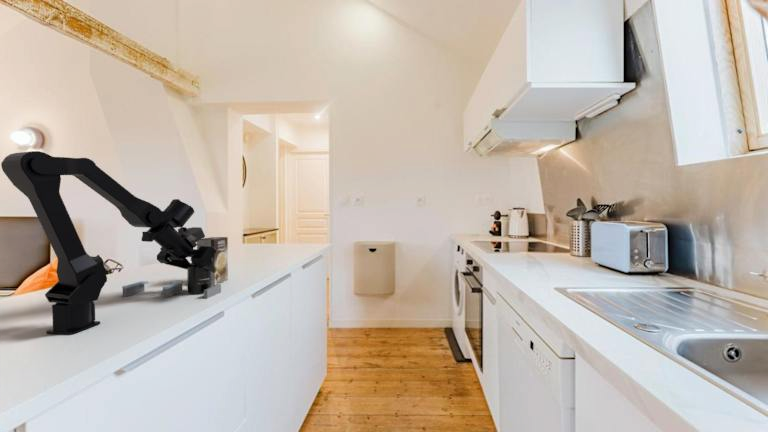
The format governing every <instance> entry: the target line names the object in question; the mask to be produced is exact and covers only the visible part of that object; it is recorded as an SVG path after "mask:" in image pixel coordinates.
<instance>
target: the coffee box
mask: <svg viewBox="0 0 768 432" xmlns="http://www.w3.org/2000/svg"><path fill="white" fill-rule="evenodd" d="M228 240H229V239H228V237H227V236H215V237H214V236H211V237H204V238H202V239H200V240H199V241H197V242H196V244H197V245H196V249H199V248H200V246H213V247H214V248H215V249H216V250H217V251H216V253H215V254H214V256H213V257H212V261H213V264H214V267H215V271H214V272H212V287H213V286H215V285H217V284H221V283H224V282H226V281H228V280H229V266H228V265H229V255H228V254H229V252H228V251H229V248H228V247H229V246H228V245H229V242H228Z"/></svg>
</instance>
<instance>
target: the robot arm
mask: <svg viewBox="0 0 768 432" xmlns="http://www.w3.org/2000/svg"><path fill="white" fill-rule="evenodd" d="M0 166H1V169H2V172H3V173H4V175H6V177H7V179H8V180H9V181H10V183H11V184H12V185H13V186H14V187H15V188H16V189H17V190H18V191H20V193H22V194H23V195H24V196H26V197H27V198H28V200H29V202H30V204H31V206H32V209H33V210H34V213H35V214H36V216H37V219H38V221H39V223H40V225H41V227H42V229H43V231H44V233H45V235H46V237H47V240H48V241H49V244H50V245H51V248H52V250H53V252H54V253H55V256H56V258H57V266H56V275H57V280H58V281H57V282H56V283H55V284H54V285H53V286H52V287H50V289H48V291H46V293H45V294H44V295H45V298H46V300H47V302H48V303H55V304H52V305H51V308H52V309H51V311H52V312H51V313H52V314H51V315H52V328H50V329H48V330H46V334H61V335H62V334H63V335H64V334H65V335H71V334H78V333H79V332H82V331H84V330H87V329H89V328H92V327H95V326H97V325H100V324H101V321H99V320H96V304H95V301H98V300H99V297H100V295H101V292H102V288H103V287H104V286H105V284H106V283H107V282H108V277H107V276H108V275H107V274H108V273H109V270H108V269H106V268H105V265H104V260H103V258H102V257H101V256H90V255H89V254H88V253H87V252H86V249H85V248H84V245H83V243H82V240H81V239H80V236H79V233H78V232H77V230H76V227H75V225H74V223H73V220H72V218H71V216H70V214H69V211H68V210H67V206H66V205H65V203H64V201H63V198H62V196H61V194H60V193H61V192H60V189H61V181H62V178H61V177H62V176H73V177H75V178H76V179H78V180H79V181H80V182H82V183H83V184H85V185H86V186H87V187H89V188H90V189H91V190H92V191H94V192H95V193H97V194H98V195H99V196H101V197H102V198H104V199H105V200H106V201H107V202H109V203H111V204H112V205H113V206H114V207H115V208H116V209H118V210H119V213H120V215H121V217H122V218H123V219H124V220H126V221H125V222H127V223H128V224H129V225H130V226H132V227H134V228H149V229H147V230H146V231H142V234H141V235H142V236H141V242H147V243H149V242H150V243H152V242H153V241H154V242H155V243H156V244H158V245H159V246H160V251H159V252H158V254H157V255H156V260H157V261H158V262H159V263H160V264H165V265H169V266H172V267H177V268H180V269H184V270H187V267H188V265H189V264H190V263H194V264H195V265H197V267H199V268H202V269H205V270H208V271H211V272H214V271H215V267H214V264H213V261H212V257H213V256H214V254H215V253H216V251H217V250H216V249H215V248H214V247H213V246H200V248H199V249H197V241H199V240H200V239H203V238H206V235H205V233H204V230H203V229H202V227H197V226H196V227H194V226H192V227H185V226H184V225H186V223H187V222H188V221H189V219H190V218H191V217H192V216H193V215H194V214H195V210H194V208H193V207H192V206H191V205H189V204H187V202H183V201H181V200H180V198H177V199H176V198H174V199H172V200H171V201H170V204H169V205H167V207H166V208H165V209H164V210H161V209H160V208H159V207H158V206H157V205H154V204H153V203H150V202H149V201H146V200H145V199H141V198H139V197H137V196H136V195H134V194H132V192H131V191H129V190H128V189H126V188H125V187H124V186H123V185H121V184H120V183H119V182H118V181H116V180H115V179H114V178H113V177H111V176H110V175H109V174H107V172H105V171H104V170H102V169H101V168H100V167H99V166H98V165H96V163H95V162H94V160H93V159H90V158H88V157H64V156H63V157H62V156H53V155H50V154H48V153H46V152H44V151H39V150H38V151H37V150H36V151H34V150H32V151H23V152H14V153H10V154H9V155H6V156H5V157H4V159H3V160H2V161H1V165H0ZM177 228H178V229H177ZM191 257H192V261H191V262H190V261H189V260H188V259H187V258H191Z"/></svg>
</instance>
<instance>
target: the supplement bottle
mask: <svg viewBox="0 0 768 432" xmlns="http://www.w3.org/2000/svg"><path fill="white" fill-rule="evenodd" d="M190 261H191V262H190V264H189V265H188V267H187V269H186V270H187V279H186V280H187V283H186V284H187V293H188V294H190V295H201V294H203V295H204V290H205V289H208V288H210V287H213V286H212V272H211V271H208V270H205V269H202V268H199V267H197V265H195V264H194V263H192V257H190Z"/></svg>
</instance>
